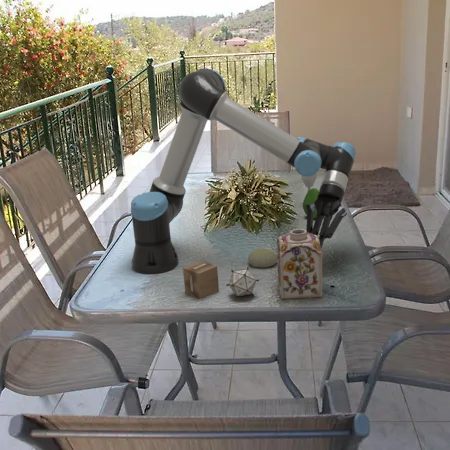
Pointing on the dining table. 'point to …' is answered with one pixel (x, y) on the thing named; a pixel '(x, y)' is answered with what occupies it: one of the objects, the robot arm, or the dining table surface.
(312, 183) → the chalice
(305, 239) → the decorative jar
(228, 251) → the dining table surface
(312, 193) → the avocado
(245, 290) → the game die
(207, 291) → the marked walnut block
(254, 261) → the sea urchin shell
